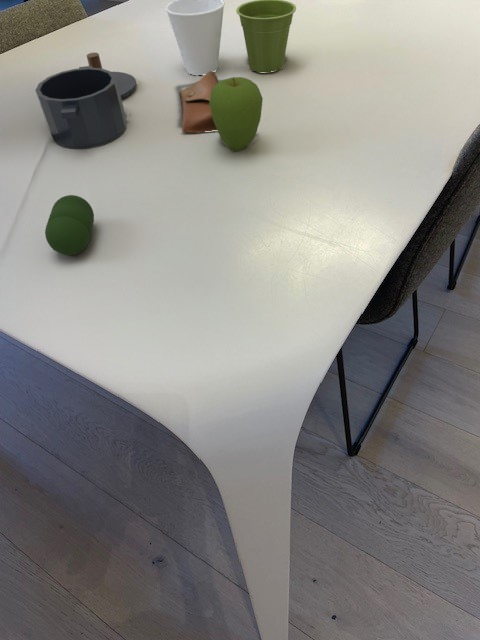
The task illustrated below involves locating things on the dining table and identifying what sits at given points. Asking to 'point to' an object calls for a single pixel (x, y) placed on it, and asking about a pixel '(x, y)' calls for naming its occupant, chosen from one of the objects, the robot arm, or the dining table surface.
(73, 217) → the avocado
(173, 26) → the cup
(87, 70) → the pot
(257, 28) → the plant pot
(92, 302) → the dining table surface
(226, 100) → the apple
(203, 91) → the sunglasses case
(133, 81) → the lid
